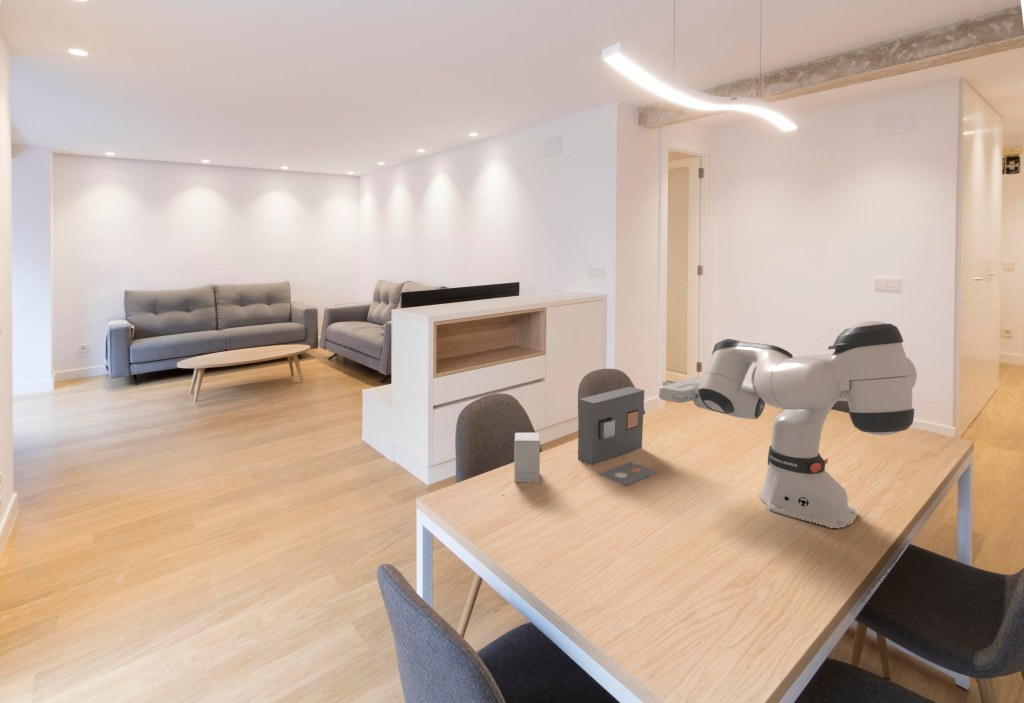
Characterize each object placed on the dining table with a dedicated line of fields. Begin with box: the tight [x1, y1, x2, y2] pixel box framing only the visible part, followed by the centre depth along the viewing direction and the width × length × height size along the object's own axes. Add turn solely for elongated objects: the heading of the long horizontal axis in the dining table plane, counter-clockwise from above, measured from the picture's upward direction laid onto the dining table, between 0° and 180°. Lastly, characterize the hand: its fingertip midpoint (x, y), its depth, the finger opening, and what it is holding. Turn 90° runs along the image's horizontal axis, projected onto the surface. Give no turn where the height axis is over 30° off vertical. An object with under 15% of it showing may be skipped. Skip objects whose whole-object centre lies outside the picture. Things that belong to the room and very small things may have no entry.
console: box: [577, 386, 645, 466], centre depth 177 cm, size 6×24×20 cm, turn 128°
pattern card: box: [599, 461, 658, 487], centre depth 163 cm, size 10×14×1 cm
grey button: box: [598, 418, 615, 439], centre depth 170 cm, size 3×5×5 cm, turn 128°
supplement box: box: [513, 432, 541, 483], centre depth 160 cm, size 7×7×13 cm
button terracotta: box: [626, 410, 638, 429], centre depth 179 cm, size 3×5×5 cm, turn 128°
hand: (665, 383), depth 165 cm, fingers closed
